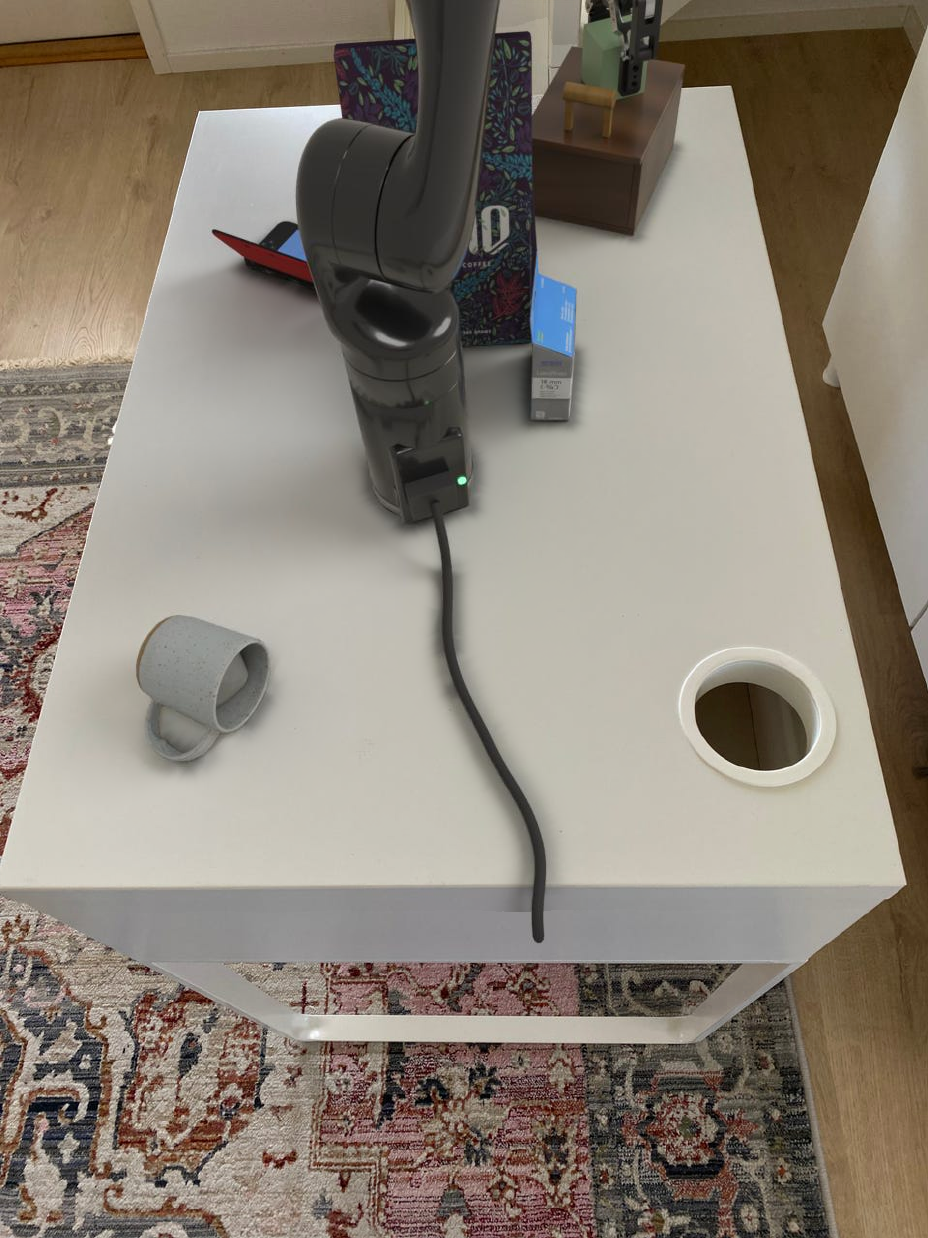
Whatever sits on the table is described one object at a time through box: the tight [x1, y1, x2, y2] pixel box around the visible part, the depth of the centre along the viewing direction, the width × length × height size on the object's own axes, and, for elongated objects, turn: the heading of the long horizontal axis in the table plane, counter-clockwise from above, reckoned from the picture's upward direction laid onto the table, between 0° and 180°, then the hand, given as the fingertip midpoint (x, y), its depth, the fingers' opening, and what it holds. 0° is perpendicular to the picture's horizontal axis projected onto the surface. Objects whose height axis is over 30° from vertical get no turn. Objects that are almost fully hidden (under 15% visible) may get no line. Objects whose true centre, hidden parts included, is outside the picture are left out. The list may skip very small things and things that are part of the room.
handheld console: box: [211, 220, 316, 292], centre depth 98 cm, size 12×11×7 cm
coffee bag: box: [333, 30, 538, 347], centre depth 84 cm, size 8×16×28 cm, turn 91°
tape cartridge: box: [529, 251, 577, 422], centre depth 86 cm, size 9×4×12 cm, turn 174°
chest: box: [532, 72, 685, 237], centre depth 102 cm, size 16×13×9 cm
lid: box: [532, 45, 686, 165], centre depth 95 cm, size 16×13×5 cm
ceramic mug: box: [135, 614, 272, 762], centre depth 73 cm, size 11×8×8 cm
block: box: [581, 14, 649, 100], centre depth 96 cm, size 5×5×6 cm
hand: (612, 70), depth 97 cm, fingers open, 8 cm apart
